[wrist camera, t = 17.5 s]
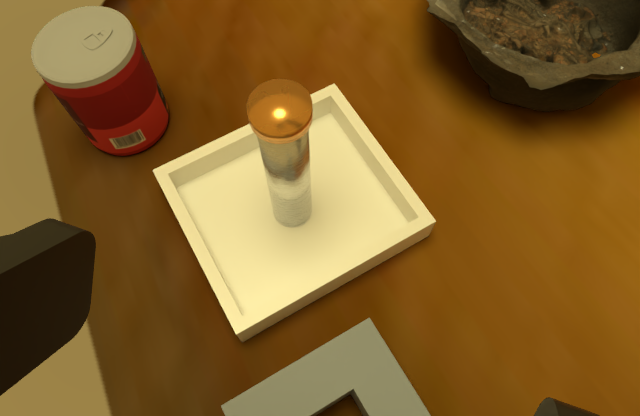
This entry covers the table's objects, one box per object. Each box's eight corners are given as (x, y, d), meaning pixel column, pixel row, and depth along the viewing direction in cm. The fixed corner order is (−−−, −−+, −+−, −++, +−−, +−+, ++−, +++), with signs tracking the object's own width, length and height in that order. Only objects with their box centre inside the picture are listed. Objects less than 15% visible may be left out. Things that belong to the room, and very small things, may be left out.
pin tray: (333, 104, 51) (334, 83, 48) (428, 236, 45) (436, 221, 42) (162, 187, 47) (152, 170, 44) (242, 342, 41) (236, 334, 38)
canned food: (187, 108, 51) (153, 25, 41) (137, 172, 48) (88, 99, 38) (124, 78, 52) (77, -9, 42) (72, 138, 49) (8, 59, 39)
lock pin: (301, 181, 46) (292, 69, 33) (324, 216, 45) (324, 115, 31) (261, 202, 46) (235, 95, 32) (283, 238, 44) (265, 144, 30)
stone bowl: (545, 188, 46) (585, 126, 38) (365, 35, 57) (367, -40, 48) (713, 53, 52) (779, -26, 44) (524, -64, 62) (549, -146, 54)
